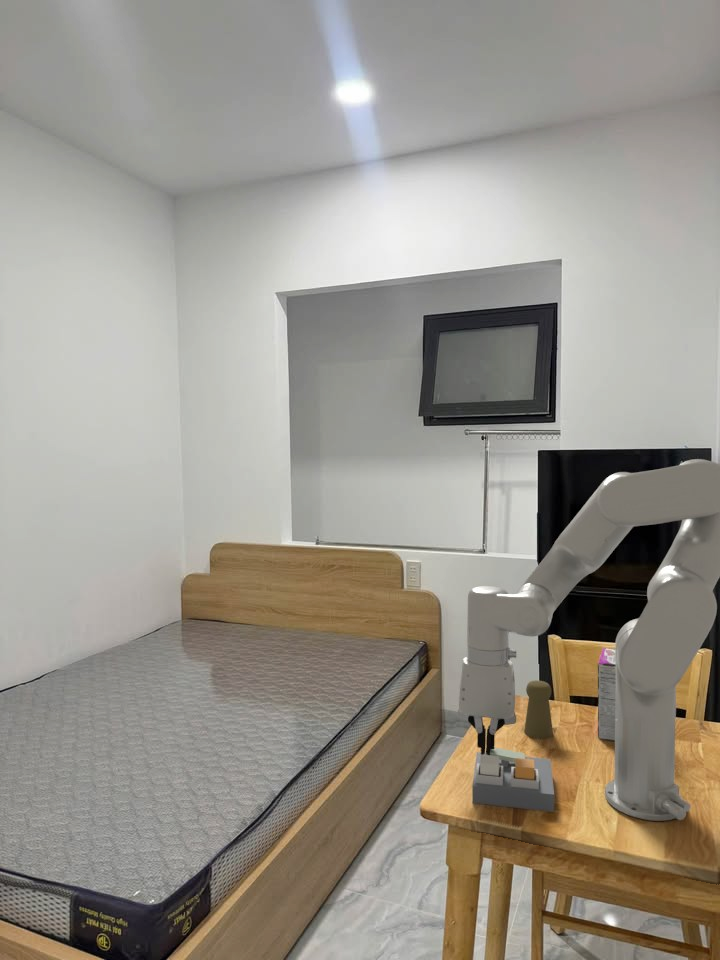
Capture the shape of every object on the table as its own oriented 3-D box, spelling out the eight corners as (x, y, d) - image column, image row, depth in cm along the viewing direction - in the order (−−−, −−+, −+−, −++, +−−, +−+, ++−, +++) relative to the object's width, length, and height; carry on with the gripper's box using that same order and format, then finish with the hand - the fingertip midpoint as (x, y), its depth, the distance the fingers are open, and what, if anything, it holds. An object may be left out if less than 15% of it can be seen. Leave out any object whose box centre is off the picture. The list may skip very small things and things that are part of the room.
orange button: (533, 770, 118) (533, 759, 118) (534, 779, 115) (534, 768, 115) (515, 768, 119) (515, 757, 119) (515, 777, 116) (515, 766, 116)
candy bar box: (601, 719, 151) (601, 647, 150) (625, 722, 149) (626, 649, 148) (596, 739, 140) (596, 662, 140) (621, 743, 138) (622, 665, 137)
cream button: (499, 767, 120) (499, 756, 120) (498, 775, 117) (498, 764, 117) (481, 765, 120) (481, 754, 120) (480, 774, 117) (480, 762, 117)
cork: (518, 730, 145) (518, 680, 145) (540, 724, 148) (540, 675, 147) (536, 741, 140) (536, 689, 139) (559, 735, 142) (559, 684, 142)
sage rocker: (524, 757, 124) (524, 753, 124) (524, 764, 122) (524, 760, 122) (485, 749, 126) (486, 745, 126) (485, 756, 123) (485, 752, 123)
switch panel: (550, 774, 126) (550, 752, 125) (554, 811, 113) (554, 787, 113) (476, 767, 129) (476, 745, 128) (472, 802, 116) (472, 778, 116)
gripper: (529, 651, 126) (527, 747, 127) (448, 645, 129) (447, 738, 130) (529, 664, 118) (527, 766, 119) (444, 657, 122) (443, 756, 123)
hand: (485, 751), depth 125 cm, fingers closed
